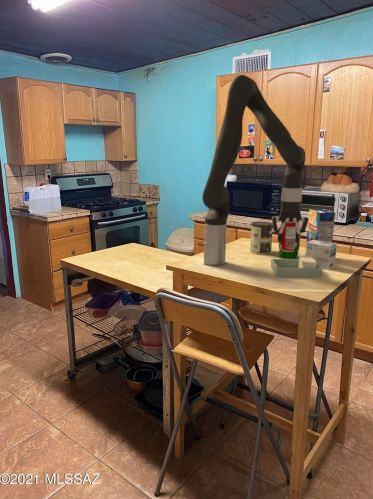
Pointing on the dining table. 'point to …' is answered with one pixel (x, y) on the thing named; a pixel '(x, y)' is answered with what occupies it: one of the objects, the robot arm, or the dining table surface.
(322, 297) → the dining table surface
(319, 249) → the light bulb box
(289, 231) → the soda can
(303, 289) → the dining table surface
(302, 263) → the cream white block
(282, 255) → the milk carton
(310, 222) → the beverage box
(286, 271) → the tote
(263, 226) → the coffee can
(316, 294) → the dining table surface
